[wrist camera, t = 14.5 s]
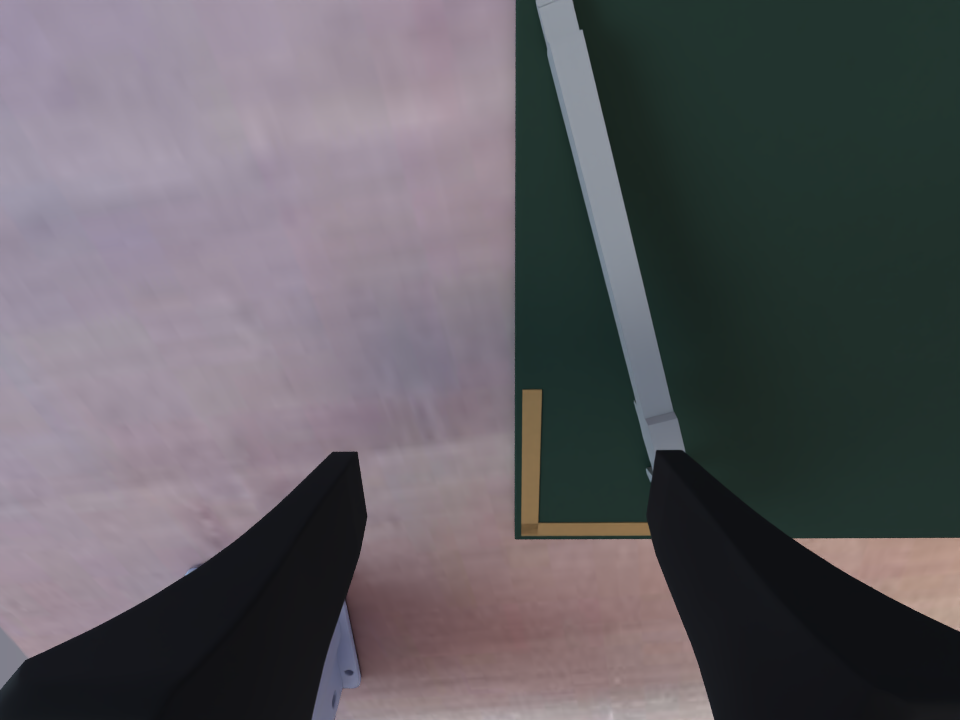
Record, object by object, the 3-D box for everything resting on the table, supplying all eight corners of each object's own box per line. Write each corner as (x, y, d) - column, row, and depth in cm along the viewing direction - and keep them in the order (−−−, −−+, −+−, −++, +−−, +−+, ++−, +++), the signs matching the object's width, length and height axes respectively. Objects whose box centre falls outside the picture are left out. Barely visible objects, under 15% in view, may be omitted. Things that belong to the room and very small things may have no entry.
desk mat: (973, 531, 25) (981, 538, 25) (514, 533, 26) (515, 540, 25) (1772, -1007, 9) (1833, -1061, 9) (517, -892, 10) (519, -934, 10)
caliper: (676, 497, 24) (732, 618, 19) (652, 503, 24) (700, 624, 19) (566, -12, 16) (607, -73, 10) (531, 3, 16) (552, -50, 10)
